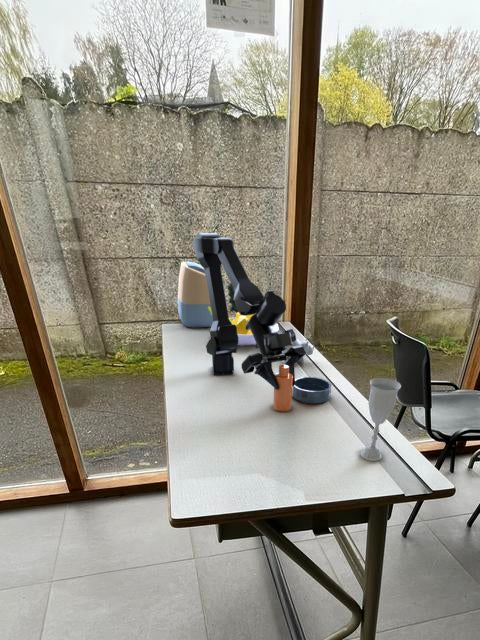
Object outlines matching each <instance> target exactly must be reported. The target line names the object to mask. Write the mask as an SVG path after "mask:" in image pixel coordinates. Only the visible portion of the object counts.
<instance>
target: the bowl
mask: <svg viewBox="0 0 480 640" xmlns="http://www.w3.org/2000/svg"><path fill="white" fill-rule="evenodd" d="M331 396H332V383H331V382H330V381H328V380H326V379H324V378H320V377H315V376H304V377H298V378H295V385H294V386H292V399H295V400H296V401H299V402H301V403H305V404H311V405H312V404H314V405H315V404H316V405H317V404H321V403H325V402H328V401H329V400H330V399H331Z"/></svg>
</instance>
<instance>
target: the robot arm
mask: <svg viewBox="0 0 480 640" xmlns="http://www.w3.org/2000/svg"><path fill="white" fill-rule="evenodd" d="M192 247H193V249H194V253H195V256H196V260H197V261H198V264H199V265H201V266H202V267H203V268H204V271H205V276H206V282H207V288H208V293H209V299H210V305H211V311H212V317H213V324H212V327H210V329H209V337H210V338H209V339H208V341H207V343H206V345H205V350H206V353H207V354H209V355H210V356H211V361H212V362H211V363H212V364H211V365H212V366H211V370H212V373H213V375H214V376H215V375H216V376H218V375H219V376H220V375H233V374H234V371H235V358H234V355H233V354H236V353H237V351H238V347H239V345H238V341H239V340H238V335H237V327H236V325H235V324H234V325H233V324H232V323H231V321H230V320H229V311H228V306H227V299H226V298H227V297H226V293H225V286H224V281H223V275H222V268H223V270H224V272H225V273H226V276H227V278H228V280H229V283H231V284H232V286H233V288H234V291H235V294H234V301H235V304H236V308H237V310H238V312H239V313H240V314H241V315H243V316H247V315H253V316H252V317H251V318H250V319H247V324H246V330H251V332H252V334H253V337H254V339H255V341H256V344H255V345H253V346H254V348H255V350H258V351H259V352H256V353H255V352H254V353H251V354H248V355H247V356H246V357H245V359H244V360H243V361H242V363H241V370H242V372H243V374H251V373H254V375H258V376H260V378H262V379H263V380H265V381H266V382H267V383H268V384H269V385H270V386H271V387H273V389H274V388H275V389H276V390H278V389H279V385H278V382H277V380H276V377H275V373H274V371H273V363H278V362H281V363H282V365H288V366H289V373H290V374H292V375H293V386H294V385H295V379H296V374H295V373H296V371H295V368H296V367H295V365H296V364H298V362H300V361H301V360H302V358H303V357H304V356H305V355H307V354H306V351H305V349H304V347H303V346H301V345H300V346H294V347H291V348H290V349H289V350H288V351H287V352H286V353H282V351H284V350H285V349H286V346H288V345H293V344H292V342H294V341H296V338H297V335H296V332H295V330H294V329H293V328H290V329H286V330H284V333H279V332H275V333H274V331H273V329H272V326H273V325H275V324H277V323H278V322H279V320H280V318H282V316H283V315H284V314H285V312H286V311H287V304H286V300H284V299H283V298H282V297H281V296H279V295H278V294H276V293H275V291H274V290H267V291H265V293H264V294H263V293H262V291H261V290H260V287H258V286H257V285H256V284H255V283H253V282H252V281H251V280H250V278H249V276H248V274H247V272H246V270H245V268H244V265H243V264H242V262H241V259H240V257H239V255H238V253H237V252H236V249H235V244H234V241H233V239H232V238H230V237H222V236H220V234H219V233H216V232H215V233H211V232H210V233H208V232H207V233H206V232H205V233H203V232H202V233H200V232H199V233H196V235H195V237H194V238H193V239H192Z"/></svg>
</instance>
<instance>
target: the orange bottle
mask: <svg viewBox="0 0 480 640" xmlns="http://www.w3.org/2000/svg"><path fill="white" fill-rule="evenodd" d="M274 375H275V377H276V380H277V382H278V385H279V389H278V390H276V389H275V388H274V387H273V397H272V399H273V401H272V402H273V403H272V408H273V410H275V411H277V412H289V411H290V410H291V409H292V403H293V402H292V399H293V396H292V386H293V375H292V374H290V373H289V366H288V365H283V364H280V365H278V372H276V373H274Z"/></svg>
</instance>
